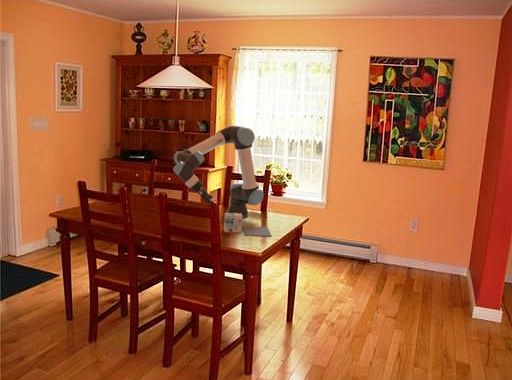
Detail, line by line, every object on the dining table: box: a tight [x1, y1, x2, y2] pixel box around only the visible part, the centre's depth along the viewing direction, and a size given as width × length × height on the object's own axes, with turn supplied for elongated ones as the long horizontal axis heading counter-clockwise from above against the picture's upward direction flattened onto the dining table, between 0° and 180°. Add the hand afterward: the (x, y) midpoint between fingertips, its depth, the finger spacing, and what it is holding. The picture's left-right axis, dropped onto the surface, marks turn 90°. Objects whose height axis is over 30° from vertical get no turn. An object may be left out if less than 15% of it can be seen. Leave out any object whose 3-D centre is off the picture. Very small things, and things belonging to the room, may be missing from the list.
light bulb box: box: [223, 212, 243, 234], centre depth 293 cm, size 11×7×11 cm, turn 101°
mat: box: [242, 226, 273, 238], centre depth 296 cm, size 20×16×1 cm
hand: (218, 209), depth 290 cm, fingers open, 13 cm apart
